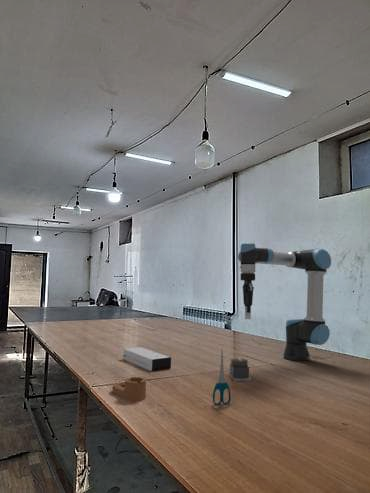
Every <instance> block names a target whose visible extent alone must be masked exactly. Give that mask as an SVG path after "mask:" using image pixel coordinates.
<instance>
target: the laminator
mask: <svg viewBox="0 0 370 493" xmlns="http://www.w3.org/2000/svg"><path fill="white" fill-rule="evenodd" d="M122 355H123V356H122V358H123V360H124V361H126V362H128V363H131V364H132V365H135V366H137V367H139V368H142V369H144V370H147V371H149V372H155V371H163V370H169V369H171V367H172V357H171V356H167V355H164V354H162V353H159V352H157V351H153V350H150V349H147V348H144V347H141V346H136V347H125V348H123V351H122Z"/></svg>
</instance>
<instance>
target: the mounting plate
mask: <svg viewBox="0 0 370 493" xmlns="http://www.w3.org/2000/svg"><path fill="white" fill-rule="evenodd" d="M227 373H228V374H227V375H228V376H229V377H230V378H231V380H232V381H233V382H249V381H250V382H251V381H252V378H251V377H250V376H249V377H233V376H232V375H231V374H230V371H228V372H227Z"/></svg>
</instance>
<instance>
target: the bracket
mask: <svg viewBox="0 0 370 493" xmlns="http://www.w3.org/2000/svg"><path fill="white" fill-rule="evenodd" d="M146 390H147V379H146V378H145V377H142V376H130V377H126V378H124V381H119V382H114V383H113V384H112V391H111V392H112V394H113V395H116V396H118V397H119V398H121V399H123V400H125V401H127V402H128V401H129V402H140V401H143V400H145V399H146V398H147V391H146Z"/></svg>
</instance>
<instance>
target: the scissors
mask: <svg viewBox="0 0 370 493" xmlns="http://www.w3.org/2000/svg"><path fill="white" fill-rule="evenodd" d="M220 353H221V354H220V356H221V357H220V368H219V369H220V370H219V378H218V381H217V383H215V386H214V388H213V392H212V403H213V404H214V405H215V406H219V405H221V404H224V405H229V404H230V403H231V398H232V397H231V396H232V395H231V390H230V386H229V384H228V382H227V381H226V379H225V371H224V368H225V367H224V356H223V355H224V352H223V349H221V352H220ZM217 390H219V401H218V402H216V400H215V398H216V392H217ZM225 390H227V391H228V399H227V401H225V400H224V393H225Z"/></svg>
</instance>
